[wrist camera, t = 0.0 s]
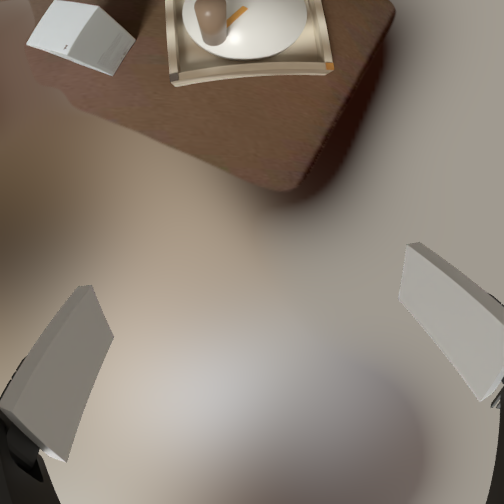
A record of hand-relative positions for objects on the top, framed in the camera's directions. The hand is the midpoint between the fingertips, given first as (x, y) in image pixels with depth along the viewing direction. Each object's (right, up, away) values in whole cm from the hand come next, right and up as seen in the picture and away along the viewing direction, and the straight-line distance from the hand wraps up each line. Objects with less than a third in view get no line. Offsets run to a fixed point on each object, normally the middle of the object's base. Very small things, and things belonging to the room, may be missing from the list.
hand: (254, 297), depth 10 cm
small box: (-21, +30, +16) cm, 40 cm away
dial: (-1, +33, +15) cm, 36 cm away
